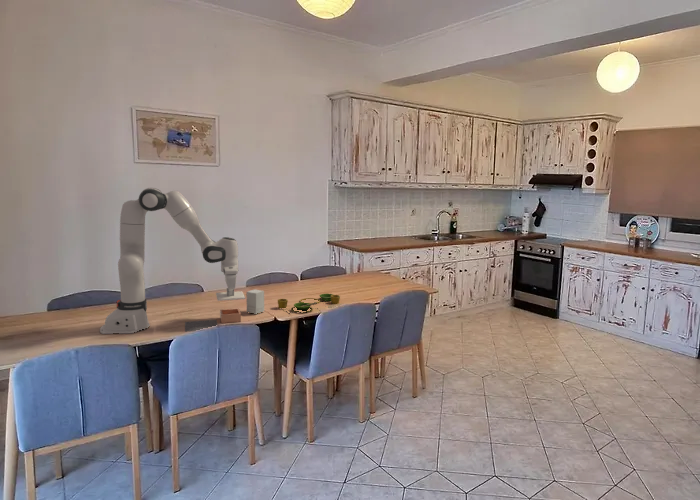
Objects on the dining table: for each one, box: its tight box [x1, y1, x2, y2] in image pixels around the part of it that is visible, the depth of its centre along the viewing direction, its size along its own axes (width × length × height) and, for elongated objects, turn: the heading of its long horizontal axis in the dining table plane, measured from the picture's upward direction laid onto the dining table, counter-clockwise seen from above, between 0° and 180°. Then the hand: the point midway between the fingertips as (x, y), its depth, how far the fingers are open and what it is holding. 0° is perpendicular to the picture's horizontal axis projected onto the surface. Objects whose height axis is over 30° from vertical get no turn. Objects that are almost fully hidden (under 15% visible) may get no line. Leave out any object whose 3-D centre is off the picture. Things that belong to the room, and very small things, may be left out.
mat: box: [184, 319, 219, 332], centre depth 238 cm, size 16×16×1 cm
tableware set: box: [277, 293, 343, 314], centre depth 282 cm, size 41×28×6 cm
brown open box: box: [219, 308, 242, 324], centre depth 248 cm, size 10×10×5 cm
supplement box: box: [245, 288, 265, 315], centre depth 264 cm, size 7×7×13 cm
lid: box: [215, 287, 246, 302], centre depth 246 cm, size 14×14×4 cm
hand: (230, 293), depth 246 cm, fingers closed on lid, 3 cm apart
